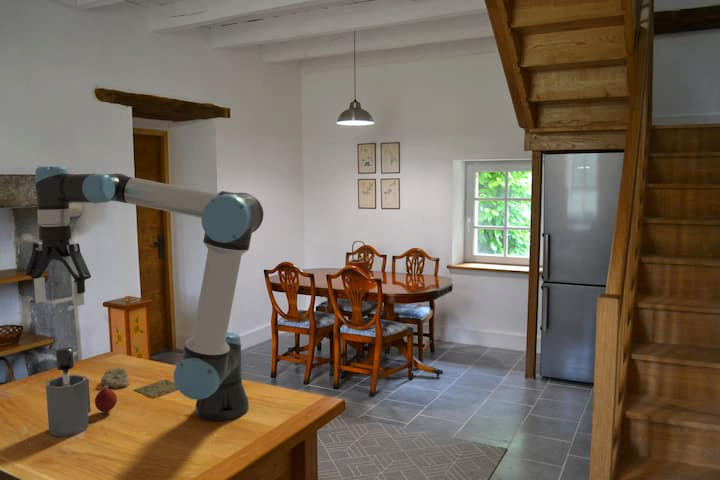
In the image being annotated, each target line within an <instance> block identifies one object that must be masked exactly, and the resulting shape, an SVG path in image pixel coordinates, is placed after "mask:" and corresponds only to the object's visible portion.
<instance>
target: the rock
mask: <svg viewBox="0 0 720 480" xmlns="http://www.w3.org/2000/svg"><path fill="white" fill-rule="evenodd" d="M128 378H129V377H128V372H127V371H126V369H125V368H113V369H109V370H105V373H104V374H103V376H102V377H101V380H100V383H101V385H102V386H108V387H111V388H114V389H116V388H121V387H127V386H130V383H129V379H128Z"/></svg>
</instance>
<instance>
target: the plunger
mask: <svg viewBox="0 0 720 480" xmlns="http://www.w3.org/2000/svg"><path fill="white" fill-rule="evenodd" d="M73 351H74V349H73V347H71V346H70V347H69V346H68V347H67V346H66V347H60V348H56V349H55V357H56V358H55V361H56V369H57V370H58V371H61V373H62V376H63V386H70V378H69V375H70V370H71V369H73V368H74V366H75V365H74V352H73Z"/></svg>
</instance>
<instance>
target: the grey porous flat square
mask: <svg viewBox="0 0 720 480" xmlns="http://www.w3.org/2000/svg"><path fill="white" fill-rule="evenodd" d="M133 391H134V392H137V393H138V394H142V395H144V396H146V397H148V398H151V399H153V400H154V399H157V398H160V397H162V396H165V395H168V394H170V393H174V392H177V391H180V390H179V389H178V388H177V387H176V385H175V382H174V381H172V380H170V379H163V380H159V381H156V382H153V383H150V384H147V385H143V386H140V387H138V388H133Z"/></svg>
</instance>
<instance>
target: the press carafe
mask: <svg viewBox="0 0 720 480" xmlns="http://www.w3.org/2000/svg"><path fill="white" fill-rule="evenodd" d="M69 378H70V386H63V375H61V376H58V377H55V378H53V379H49V380H47V381H46V385H45V391H46V406H47V407H46V408H47V420H48V422H47V423H48V432H49V435H51V436H53V437H56V438H57V437H58V438H64V437H71V436H74V435H78V434H81V433H83V432H85V431H86V430H87V429H88V428H89V425H90V424H89V420H90V419H89V413H91V412H92V411H91V410H92V409H91V398H90V397H91V396H90V395H91V394H90V383H89V382H90V381H89V378H88V377H87V376H86V375H78V374H69Z"/></svg>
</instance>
